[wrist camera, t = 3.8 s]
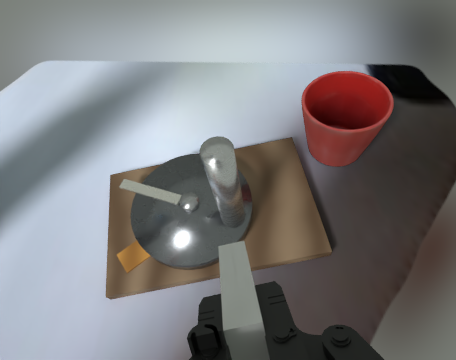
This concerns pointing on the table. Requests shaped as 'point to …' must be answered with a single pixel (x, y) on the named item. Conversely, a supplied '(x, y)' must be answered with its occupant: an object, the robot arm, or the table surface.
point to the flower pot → (344, 115)
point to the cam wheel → (192, 207)
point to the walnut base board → (256, 237)
